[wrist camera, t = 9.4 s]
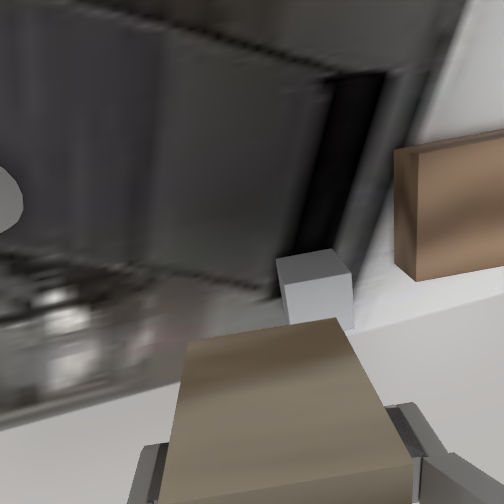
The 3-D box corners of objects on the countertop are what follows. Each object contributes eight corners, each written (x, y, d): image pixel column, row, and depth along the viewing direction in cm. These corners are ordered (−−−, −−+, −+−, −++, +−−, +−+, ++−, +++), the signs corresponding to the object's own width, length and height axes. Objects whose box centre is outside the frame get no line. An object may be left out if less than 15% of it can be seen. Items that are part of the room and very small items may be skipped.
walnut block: (391, 149, 26) (418, 153, 22) (515, 125, 26) (563, 126, 22) (392, 261, 30) (415, 282, 26) (500, 241, 30) (539, 259, 26)
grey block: (275, 258, 28) (284, 285, 24) (331, 248, 28) (351, 272, 24) (283, 306, 30) (292, 340, 26) (335, 297, 30) (354, 328, 26)
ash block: (188, 341, 11) (157, 506, 6) (335, 317, 11) (413, 463, 6) (217, 444, 13) (209, 628, 8) (342, 423, 13) (406, 596, 8)
